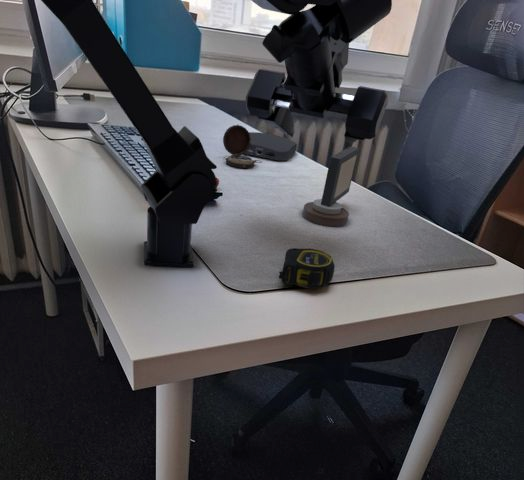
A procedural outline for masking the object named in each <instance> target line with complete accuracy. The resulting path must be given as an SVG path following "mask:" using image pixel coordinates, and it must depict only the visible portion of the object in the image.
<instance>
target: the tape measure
mask: <svg viewBox="0 0 524 480" xmlns="http://www.w3.org/2000/svg"><path fill="white" fill-rule="evenodd" d="M335 267H336V265H335V262H334V259H333V257H332V256H331V255H330V254H328V253H326V252H325V251H322V250H320V249H316V248H307V247H306V248H301V247H300V248H299V247H298V248H297V247H292V248H288V249H287V250H286V251H285V255H284V262H283V266H282V270H281V271H280V270H279V272H278V274H279V275H278V278H279V279H281V282H282V284H284V285H285V286H286V285H288V286H294V285H295V286H298V287H300V288H304V289H308V290H309V289H310V290H311V289H322V288H324V287H326V286H328V285H329V284H330V283H331V282H332V280H333V277H334V273H335V269H336V268H335Z"/></svg>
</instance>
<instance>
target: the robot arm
mask: <svg viewBox="0 0 524 480" xmlns="http://www.w3.org/2000/svg"><path fill="white" fill-rule="evenodd" d="M40 1H41V2H42V3H43V4H44V5H45V7H46V8H47V9H48V10H49V11H50V12H51V13H52V14H53V15H54V16H55V18H56V19H58V20H59V22H61V24H62V25H63V27H64V28H65V30H66V31H67V33H68V34H69V35H70V37H71V38H72V40H73V41H74V43H75V44H76V46H77V47H78V48H79V50H80V51H81V52H82V54H83V55H84V57H85V59H86V60H87V61H88V63H89V64H90V66H91V67H92V68H93V70H94V71H95V73H96V74H97V75H98V77H99V78H100V80H101V81H102V83H103V84H104V86H105V88H107V90H108V91H109V93H110V95H111V96H112V97H113V98H114V100H115V101H116V103H117V104H118V106H119V107H120V108H121V110H122V111H123V113H124V114H125V116H126V117H127V119H128V120H129V122H130V123H131V125H132V126H133V127H134V129H135V130H136V132H137V133H138V134H139V136H140V137H141V139H142V140H143V143H144V146H145V148H146V151H147V153H148V155H149V157H150V160H151V162H152V164H153V166H154V169H155V171H154V172H153V173H152V174H151V175H150V176H149V177H148V178H147V179H146V180H145V181H143V182H142V183H141V185H140V188H141V191H142V194H143V197H144V199H145V201H146V202H147V203H148V205H149V207H148V208H147V214H146V215H147V218H146V220H147V221H146V222H147V223H146V241H143V264H144V265H146V266H166V267H188V268H189V267H190V268H194V267H195V265H196V264H195V259H194V258H195V257H194V252H193V251H194V250H193V246H192V244H191V243H192V230H193V229H192V228H193V225H197V224H198V222H199V219H200V218H201V215H202V213H203V211H204V208H205V206H206V205H207V204H208V203H209V202H210V201H211V200H212V199H213V197H214V195H215V194H216V190H217V189H216V186H217V179H216V178H217V176H216V174H215V171H213V170H217V168H218V166H217V165H216V164H215V163H214V162H213V160H211V159H210V158H209V157H208V155H207V153H206V151H205V149H204V146H203V143H202V142H201V140H200V138H199V137H198V136H197V135H196V134H195V133H194V132H193V131H192V130H190V129H189V127H187V126H185V125H183V127H182V128H181V129H180V130H179V131H177V130H176V129H175V127H174V126H173V125H172V124H171V122H170V121H169V119H168V117H167V116H166V114H165V112H164V111H163V109H162V108H161V106H160V105H159V103H158V102H157V100H156V98H155V96H154V95H153V94H152V92H151V91H150V89H149V87H148V86H147V84H146V82H145V81H144V80H143V78H142V76H141V75H140V73H139V72H138V70H137V69H136V67H135V66H134V64H133V62H132V61H131V59H130V58H129V56H128V54H127V53H126V51H125V50H124V48H123V47H122V45H121V43H120V42H119V40H118V38H117V37H116V35H115V34H114V33H113V31H112V29H111V27H110V26H109V25H108V23H107V22H106V20H105V18H104V17H103V16H102V14H101V12H100V11H99V9H98V8H97V6H96V4H95V2H94V0H40ZM250 1H251V2H252V3H254V4H255V5H257V6H258V7H260V8H261V9H262V10H266V11H270V12H276V13H280V14H285V15H288V17H286V18H285V19H284V20H282V21H281V22H280V23H279V24H278V25H277V24H274V25H272V27H271V29H270V31H269V32H268V33H267V34H266V35H265V36H264V38H263V40H262V42H261V44H262V46H263V47H264V48H265V49H266V51H268V53H269V54H270V55H271V56H272V57H273V58H274V59H275V61H276V62H277V63H280V64H282V63H283V62H284V65H285V70H286V72H283V71H279V70H278V71H277V70H273V69H266V68H259V69H258V70H257V71H256V72H255V74H254V76H253V78H252V81H251V83H250V86H249V88H248V90H247V93H246V94H245V100H244V101H245V102H244V104H245V107H246V109H247V112H248V114H249V116H252V117H257V119H258V120H261V121H264V122H265V123H267V124H268V125H270V126H273V127H274V128H275V129H277V130H278V131H280V132H281V133H283V134H285V135H286V136H287V137H289V138H293V137H294V135H295V124H294V120H293V115H292V113H293V114H294V113H295V114H300V115H305V116H309V117H315V118H320V119H324V118H325V116H326V113H327V112H332V113H335V114H341V115H346V121H345V125H344V127H345V128H344V129H345V131H344V135H343V136H344V143H345V144H344V145H345V149H348V150H350V148H351V146H352V147H353V144H355V143H357V141H365V140H372V139H373V138H375V137H376V136H377V133H378V130H379V128H380V125H381V123H382V121H383V117H384V115H385V113H386V110H387V106H388V101H389V99H388V98H389V95H388V93H387V91H386V90H385V89H381V88H374V87H369V86H363V85H359V86H358V87H357V89H356V92H355V93H354V95H351V94H347V93H342V92H341V93H340V92H336V88H337V89H340V88H341V85H342V83H343V72H342V71H343V70H344V68H345V67H346V66H347V65H348V63H349V52H350V51H349V50H350V43H352V42H353V41H355V40H356V39H357V38H359V37H360V36H361V35H362V34H364V33H365V32H367V31H368V30H369V29H371V28H372V27H373V26H375V25H376V24H377V23H379V22H380V21H382V20H384V18H386V17H387V16H388V15H389V14H390V13H391V11H392V7H393V0H250ZM308 5H313V6H312V7H310V8H308V9H306V7H307V6H308ZM304 9H305V10H304Z"/></svg>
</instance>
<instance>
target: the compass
mask: <svg viewBox="0 0 524 480" xmlns="http://www.w3.org/2000/svg"><path fill="white" fill-rule="evenodd" d="M249 132H250V131H249V130H248V129H247V128H246V127H244V126H242V125H240V124H234V125H231V126H229V127H228V128H226V130H225V131H224V133H223V134H224V135H223V136H222V143H223V146H224V149H225V151H227V152H228V153H229V154H231V155H229V156H228V157H226V159H225V163H226V164H227V165H229V166H230V167H234V168H238V169H251V168H253V167H254V166H255V163H256V164H262V163H263V161H262V160H259V159H252V158H251V157H250V156H247V155H244V154H245V152H246V151H247V150H248V148H249V146H250V140H251V138H250V134H249Z"/></svg>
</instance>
